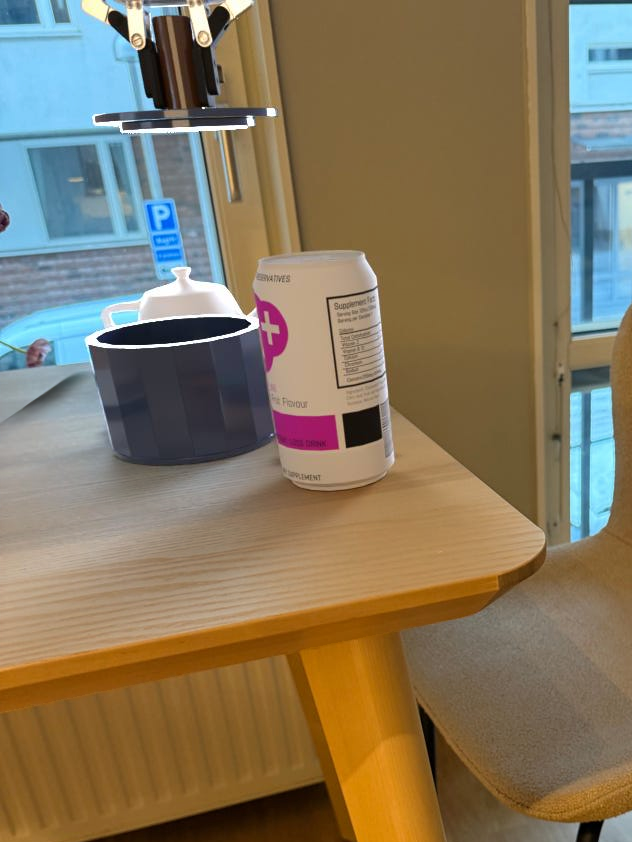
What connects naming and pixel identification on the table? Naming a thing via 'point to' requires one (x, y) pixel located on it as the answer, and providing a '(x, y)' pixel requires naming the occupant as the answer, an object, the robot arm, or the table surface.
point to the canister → (183, 388)
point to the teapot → (179, 301)
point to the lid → (181, 90)
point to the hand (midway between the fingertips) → (185, 105)
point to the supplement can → (325, 367)
